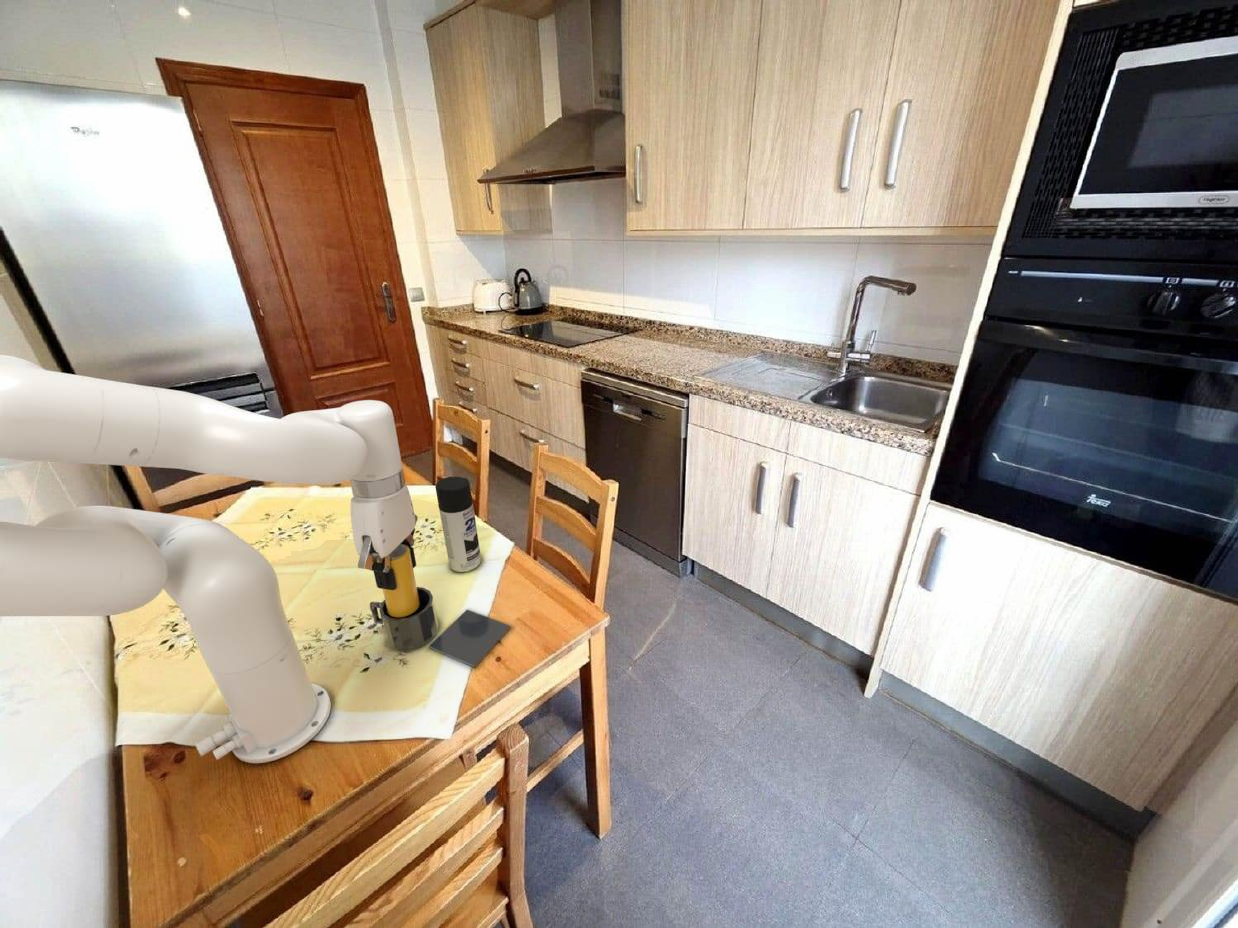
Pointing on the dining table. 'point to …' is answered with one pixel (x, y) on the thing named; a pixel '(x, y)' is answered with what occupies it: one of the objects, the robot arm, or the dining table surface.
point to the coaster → (470, 638)
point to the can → (401, 584)
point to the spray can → (458, 523)
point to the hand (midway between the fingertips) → (397, 575)
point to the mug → (409, 623)
